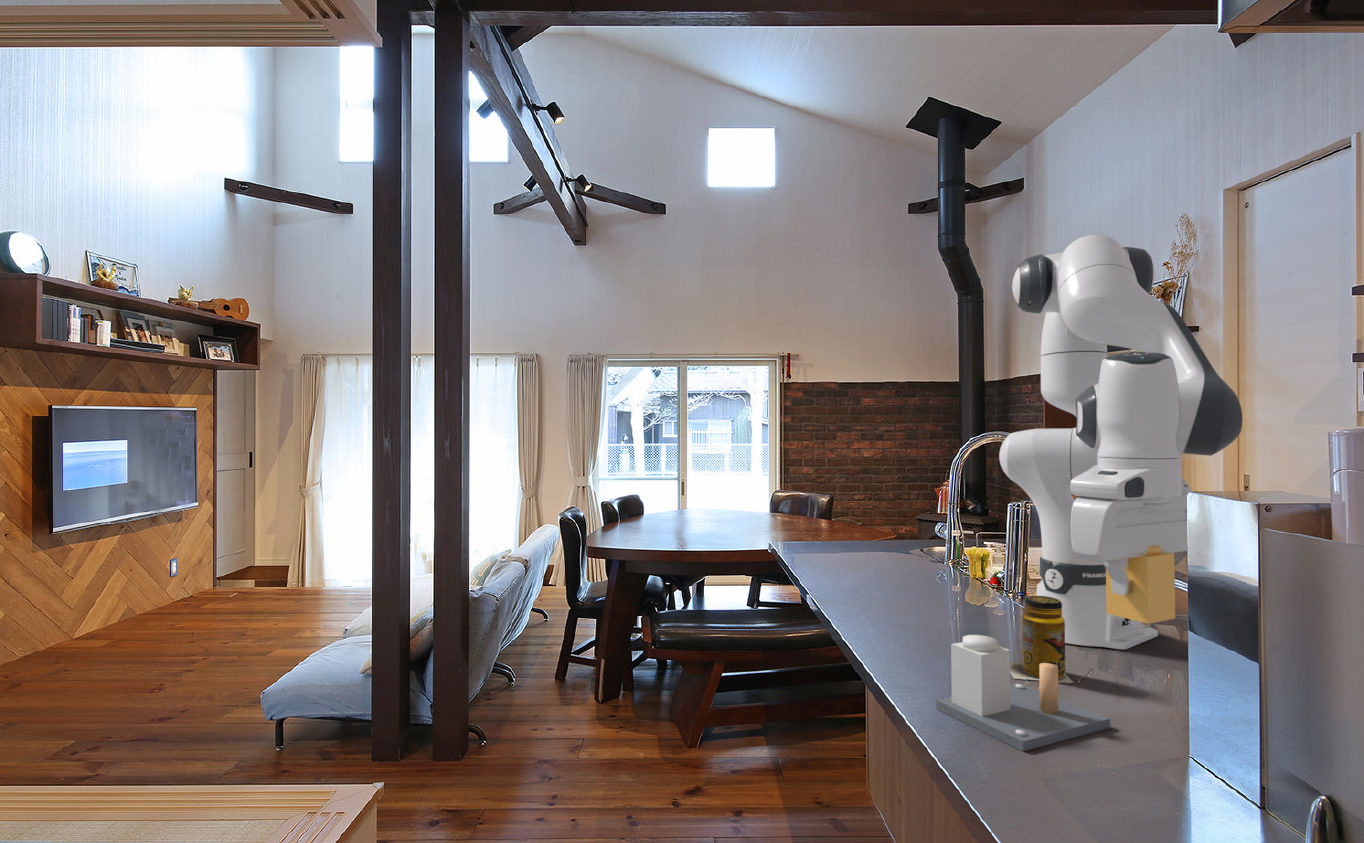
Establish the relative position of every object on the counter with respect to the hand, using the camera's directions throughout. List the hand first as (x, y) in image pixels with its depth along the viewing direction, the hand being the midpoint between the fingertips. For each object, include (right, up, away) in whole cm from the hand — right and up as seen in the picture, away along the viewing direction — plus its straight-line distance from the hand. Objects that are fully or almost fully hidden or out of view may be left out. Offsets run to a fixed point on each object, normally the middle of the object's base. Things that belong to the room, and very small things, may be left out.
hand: (1139, 590), depth 86 cm
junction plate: (-12, -19, +7) cm, 23 cm away
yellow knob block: (0, -3, 0) cm, 3 cm away
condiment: (-1, -19, +23) cm, 30 cm away
